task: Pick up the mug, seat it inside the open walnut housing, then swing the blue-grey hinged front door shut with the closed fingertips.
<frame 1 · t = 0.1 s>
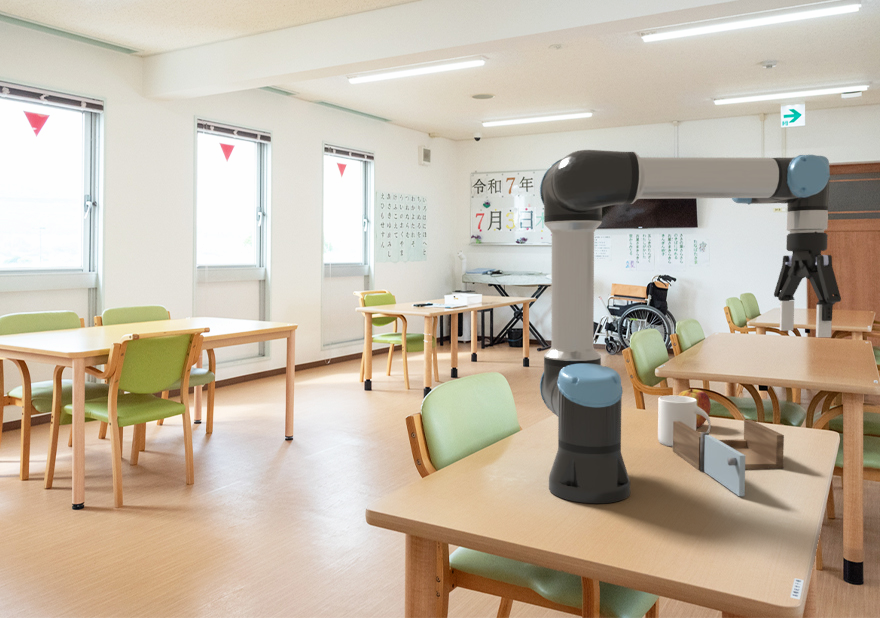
hand: (804, 333, 146), 28 cm above the table, fingers open, 13 cm apart
housing: (725, 459, 151), on the table
door: (720, 464, 134), point 4 cm above the table, hinge at -90.0°
mug: (683, 445, 164), on the table
apple: (691, 427, 182), on the table
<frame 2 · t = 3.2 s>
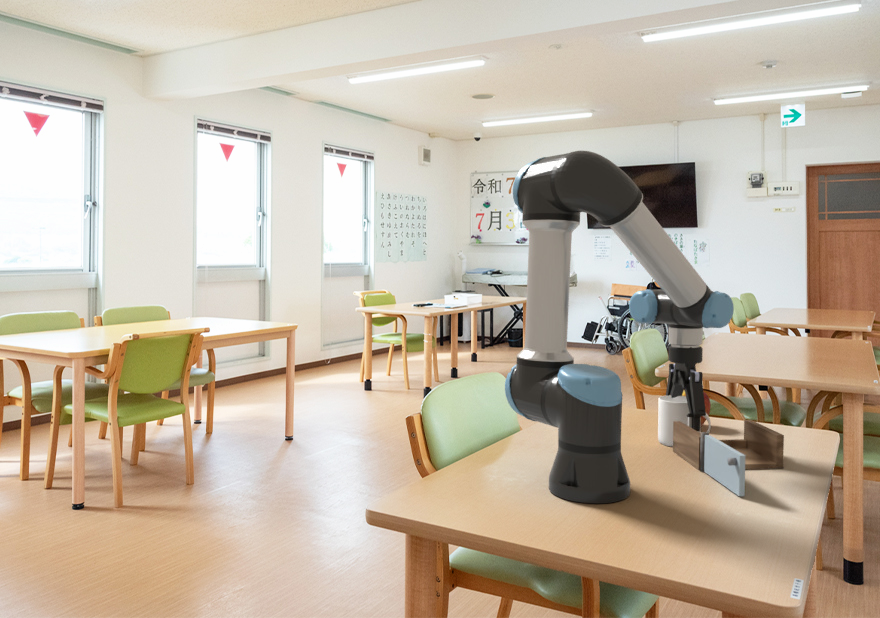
hand: (684, 437, 164), 1 cm above the table, fingers open, 11 cm apart
mug: (683, 445, 164), on the table, touching gripper
everything else where it was.
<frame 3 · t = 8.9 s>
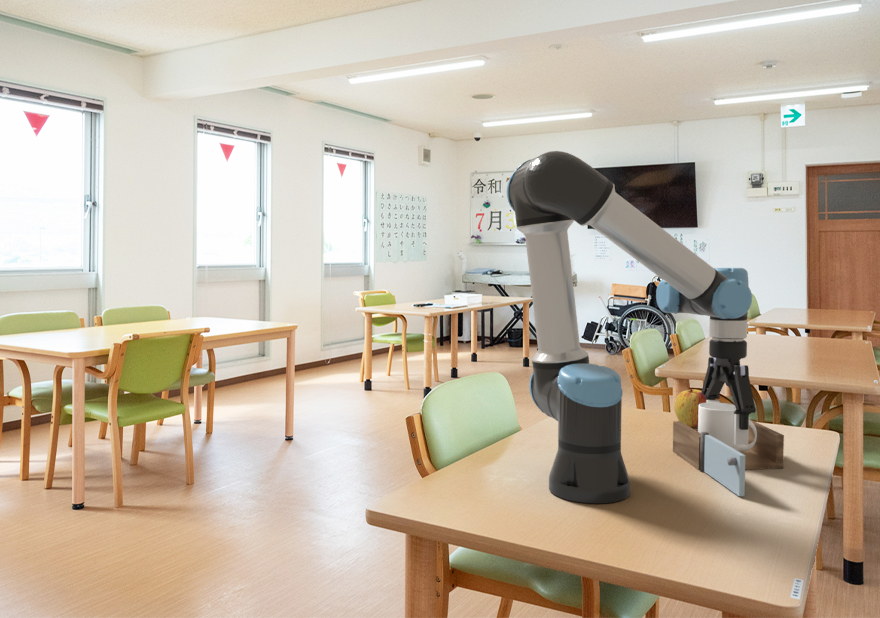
hand: (726, 436, 151), 5 cm above the table, fingers open, 13 cm apart
mug: (726, 456, 151), point 1 cm above the table, touching housing
everything else where it was.
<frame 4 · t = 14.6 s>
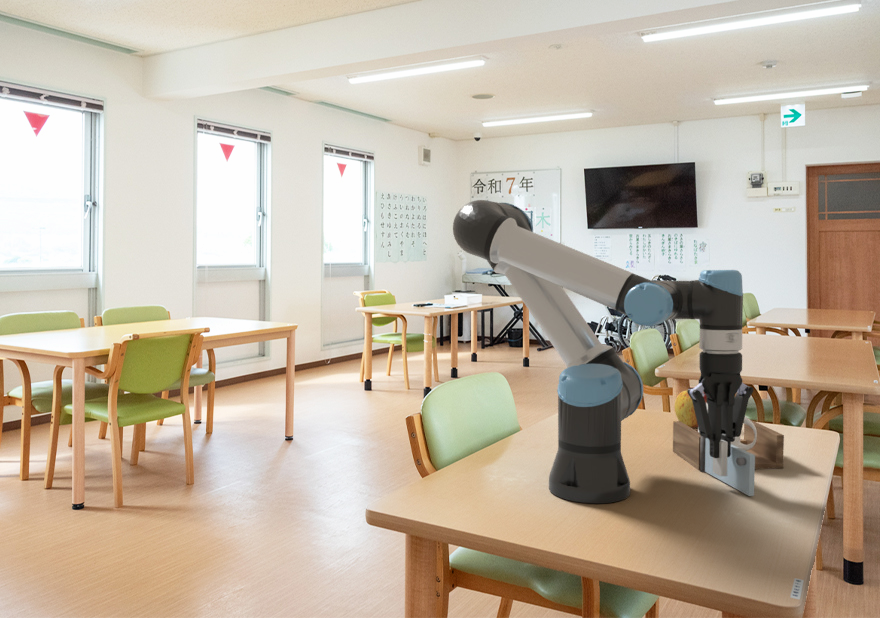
hand: (719, 473, 132), 3 cm above the table, fingers closed
door: (725, 463, 134), point 4 cm above the table, hinge at -83.2°, touching gripper
everything else where it was.
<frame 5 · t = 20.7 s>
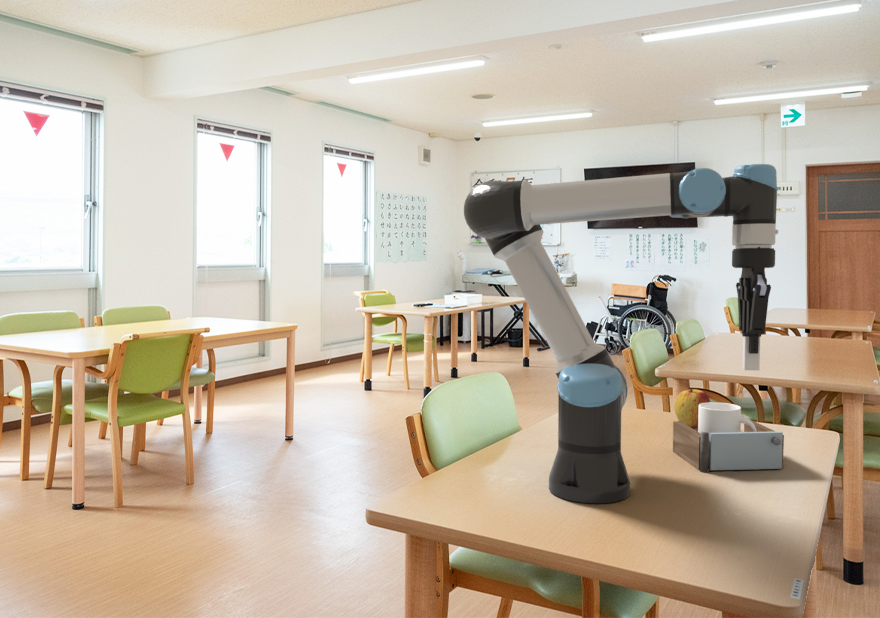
hand: (750, 369, 134), 22 cm above the table, fingers closed
door: (746, 451, 143), point 4 cm above the table, hinge at 0.1°
everything else where it was.
at the end: mug inside the target area on the housing (0.6 cm from its centre), point 0.8 cm above the housing's base; mug tilted 0°; door at +0° (first picture: -90°) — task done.
